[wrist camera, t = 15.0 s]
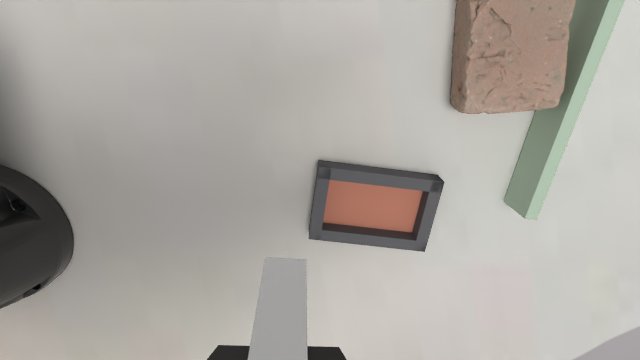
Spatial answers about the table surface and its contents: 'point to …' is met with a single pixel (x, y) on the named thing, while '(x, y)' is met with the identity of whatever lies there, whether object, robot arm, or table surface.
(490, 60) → the brick
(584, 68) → the sage end wall
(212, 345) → the table surface
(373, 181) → the trap pits
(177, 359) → the table surface
